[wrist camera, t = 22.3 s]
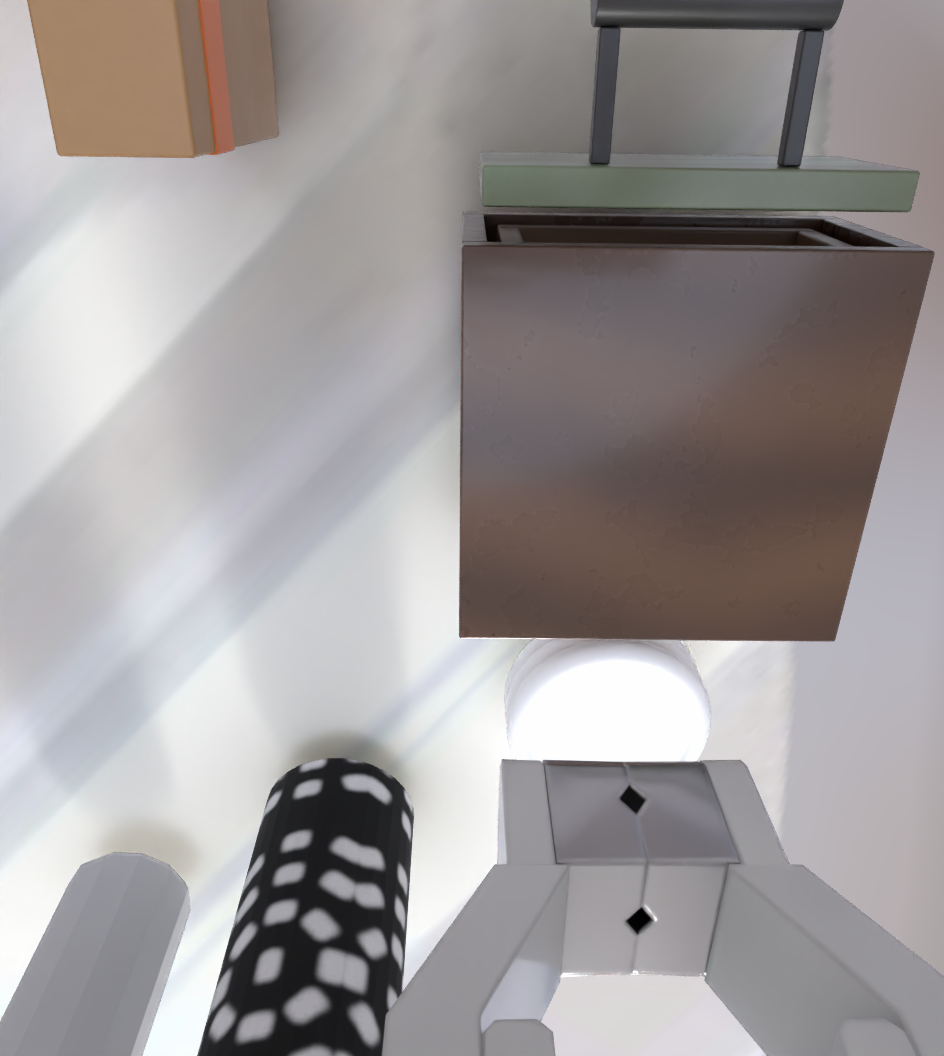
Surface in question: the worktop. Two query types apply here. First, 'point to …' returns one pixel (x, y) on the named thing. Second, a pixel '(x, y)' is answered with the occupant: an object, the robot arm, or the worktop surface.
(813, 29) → the drawer
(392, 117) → the worktop surface
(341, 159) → the worktop surface
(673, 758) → the white round shallow piece
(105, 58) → the block
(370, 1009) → the white-spotted black cylinder
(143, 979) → the water bottle
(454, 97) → the worktop surface
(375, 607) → the worktop surface
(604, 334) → the cabinet
